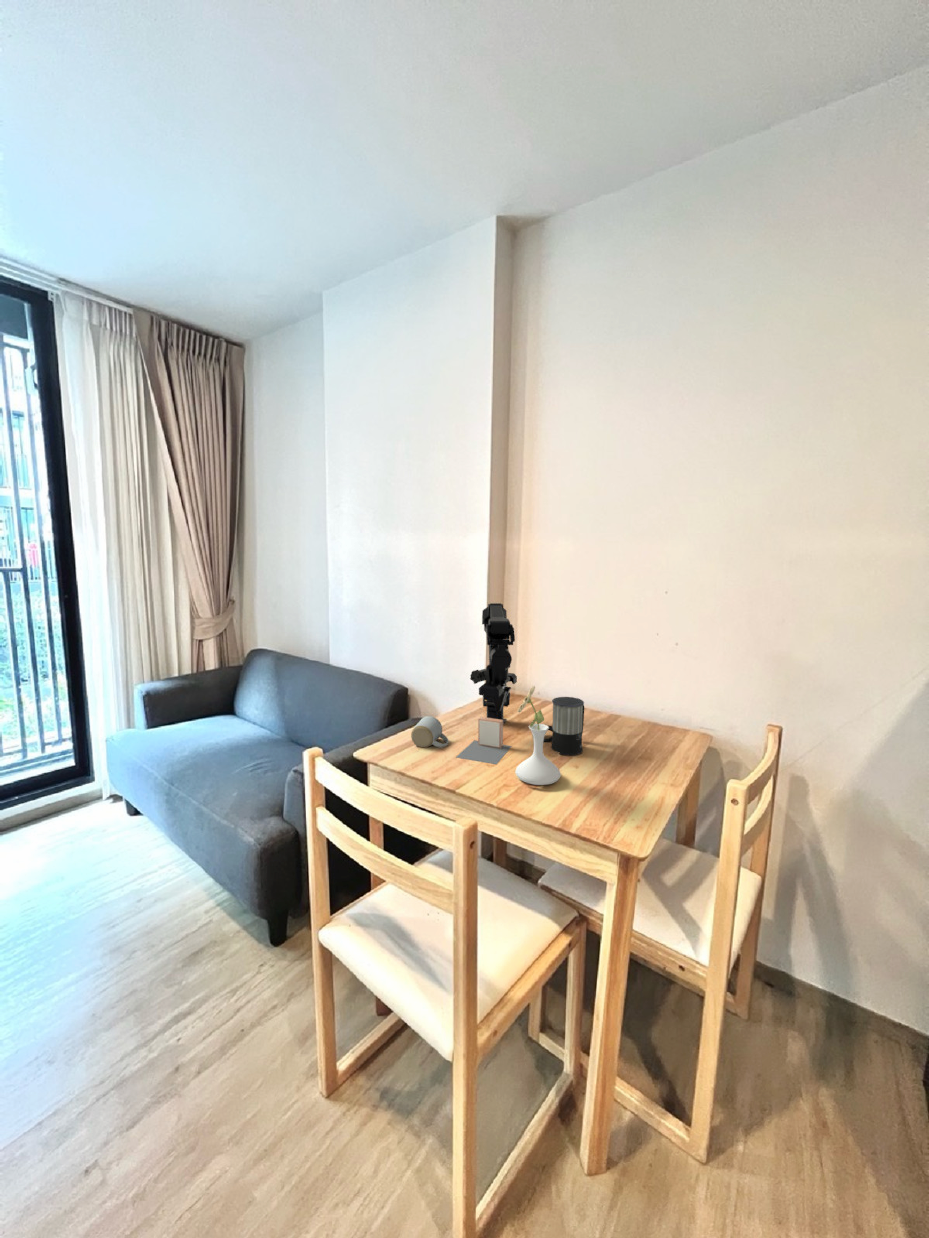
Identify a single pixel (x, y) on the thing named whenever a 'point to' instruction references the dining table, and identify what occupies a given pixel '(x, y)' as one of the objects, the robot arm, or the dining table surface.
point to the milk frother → (567, 726)
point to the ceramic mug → (428, 733)
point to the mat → (483, 753)
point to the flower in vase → (537, 753)
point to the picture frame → (490, 732)
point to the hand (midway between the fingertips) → (498, 711)
